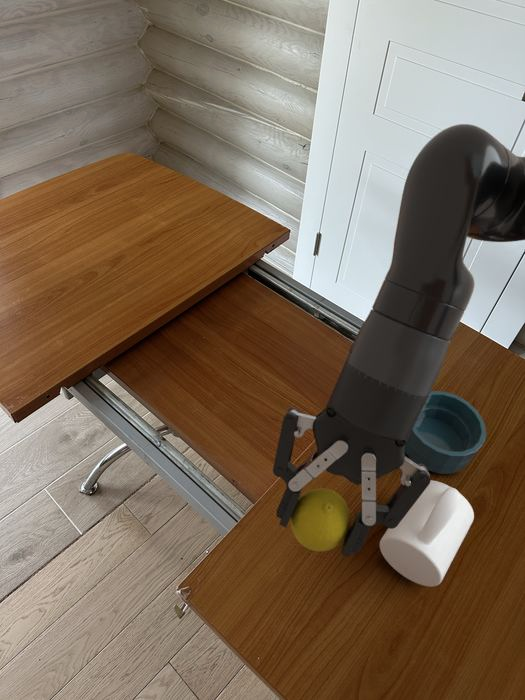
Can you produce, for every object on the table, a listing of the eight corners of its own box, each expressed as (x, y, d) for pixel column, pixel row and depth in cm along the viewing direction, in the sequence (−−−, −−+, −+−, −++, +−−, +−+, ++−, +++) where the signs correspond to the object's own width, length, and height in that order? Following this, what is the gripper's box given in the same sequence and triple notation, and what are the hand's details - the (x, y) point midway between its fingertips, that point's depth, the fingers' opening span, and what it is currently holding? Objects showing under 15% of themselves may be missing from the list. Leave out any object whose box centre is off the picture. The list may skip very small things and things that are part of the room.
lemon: (283, 555, 51) (296, 535, 44) (287, 499, 54) (300, 473, 47) (338, 562, 51) (360, 543, 44) (339, 506, 54) (359, 480, 47)
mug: (372, 553, 68) (396, 514, 59) (407, 498, 74) (434, 454, 65) (428, 595, 65) (462, 561, 56) (461, 534, 71) (497, 494, 62)
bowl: (484, 447, 81) (500, 426, 76) (442, 491, 75) (457, 470, 71) (425, 401, 86) (437, 379, 82) (382, 439, 80) (392, 417, 76)
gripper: (306, 346, 42) (233, 522, 45) (478, 418, 40) (388, 596, 43) (315, 335, 49) (252, 488, 52) (461, 396, 47) (386, 550, 50)
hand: (314, 536), depth 48 cm, fingers closed on lemon, 5 cm apart
